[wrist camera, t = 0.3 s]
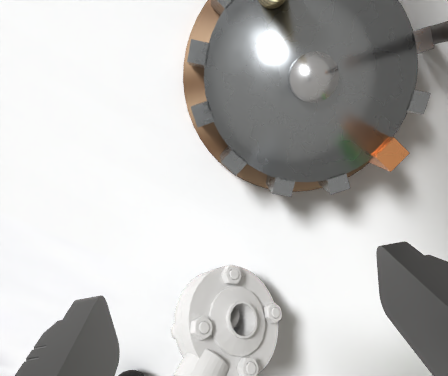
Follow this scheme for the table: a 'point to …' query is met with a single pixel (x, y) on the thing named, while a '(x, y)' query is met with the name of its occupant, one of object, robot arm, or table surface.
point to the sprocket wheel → (310, 86)
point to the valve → (224, 325)
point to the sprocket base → (196, 94)
